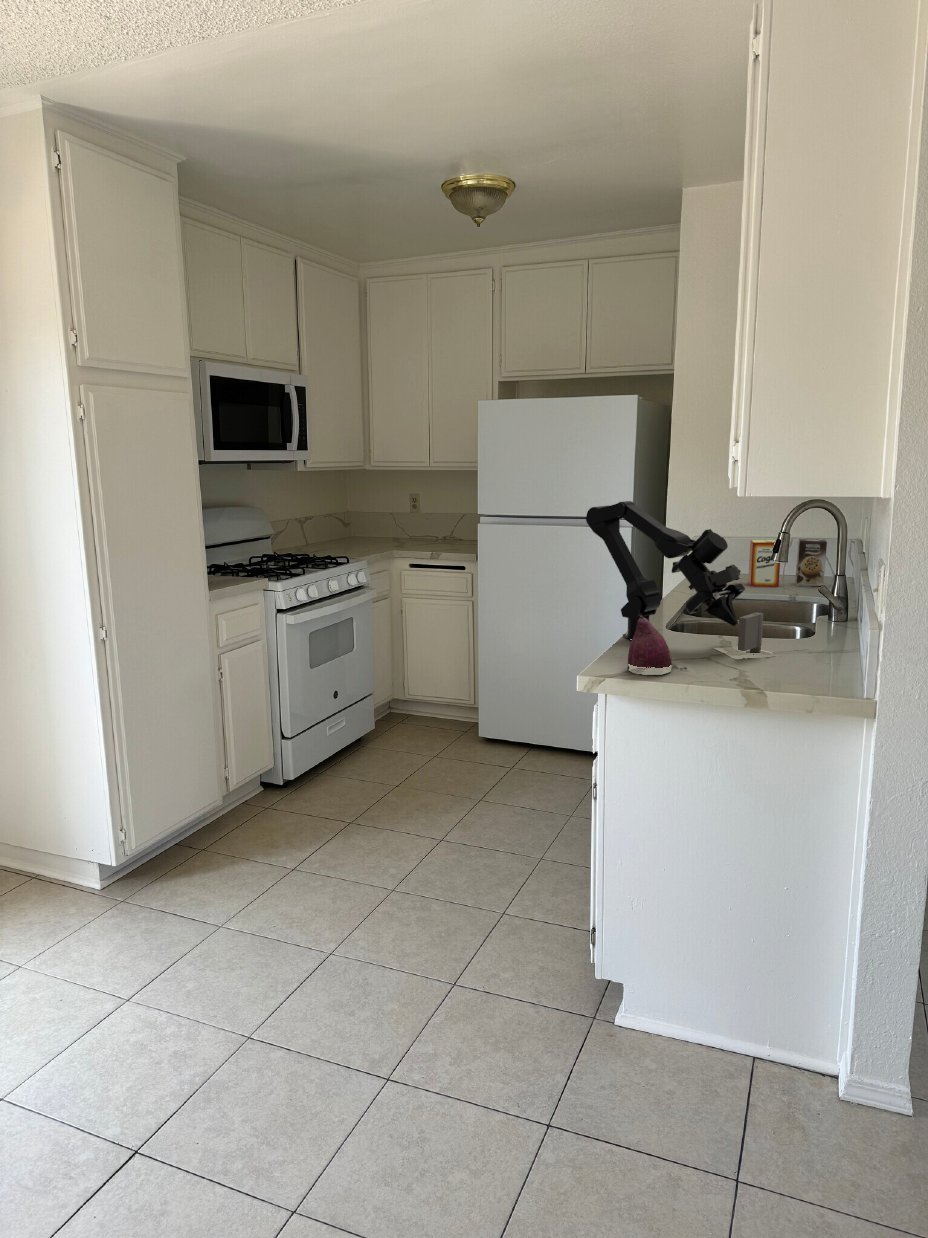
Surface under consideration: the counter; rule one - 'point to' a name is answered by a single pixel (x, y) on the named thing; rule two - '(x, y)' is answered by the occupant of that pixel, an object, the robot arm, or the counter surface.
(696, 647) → the counter surface
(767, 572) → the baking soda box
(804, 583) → the cookie box
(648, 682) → the counter surface
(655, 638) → the vegetable
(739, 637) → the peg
